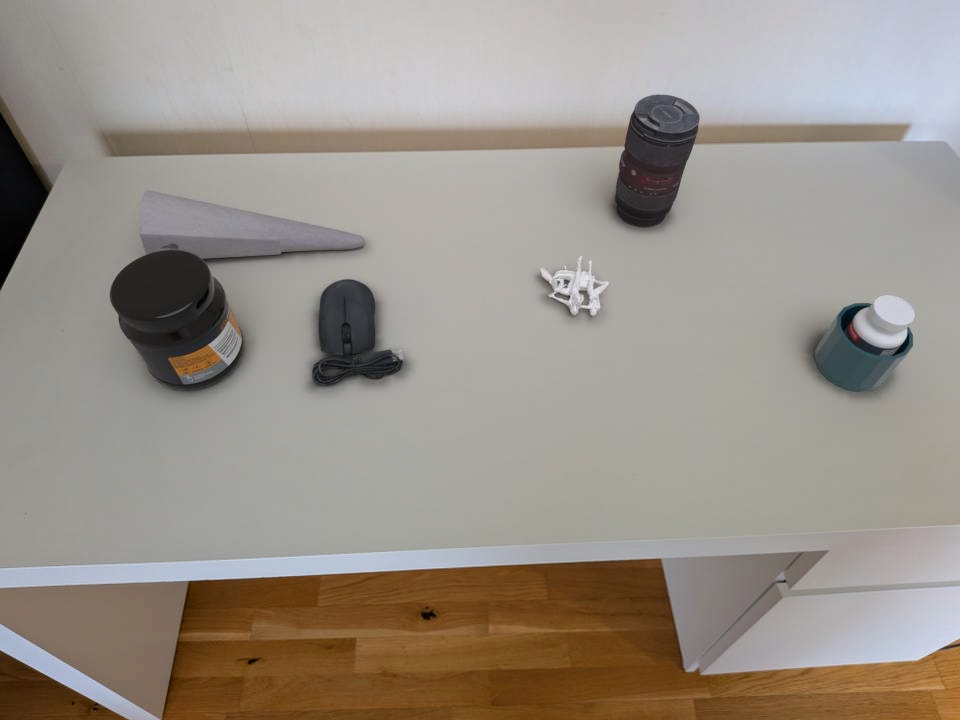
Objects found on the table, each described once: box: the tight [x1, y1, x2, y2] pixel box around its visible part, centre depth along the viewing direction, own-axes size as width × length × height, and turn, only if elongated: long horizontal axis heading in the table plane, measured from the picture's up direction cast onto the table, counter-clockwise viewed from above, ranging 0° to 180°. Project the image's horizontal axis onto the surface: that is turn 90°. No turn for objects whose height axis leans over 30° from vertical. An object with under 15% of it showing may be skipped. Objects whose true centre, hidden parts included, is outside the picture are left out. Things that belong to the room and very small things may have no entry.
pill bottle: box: [844, 294, 916, 356], centre depth 72 cm, size 5×5×9 cm
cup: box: [814, 302, 914, 393], centre depth 74 cm, size 8×8×6 cm
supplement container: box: [109, 250, 245, 391], centre depth 71 cm, size 10×10×12 cm
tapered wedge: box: [139, 189, 365, 260], centre depth 86 cm, size 8×9×26 cm
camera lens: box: [614, 93, 701, 228], centre depth 85 cm, size 8×8×15 cm
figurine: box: [539, 255, 610, 317], centre depth 81 cm, size 3×8×8 cm
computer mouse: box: [311, 278, 405, 387], centre depth 77 cm, size 10×15×4 cm
